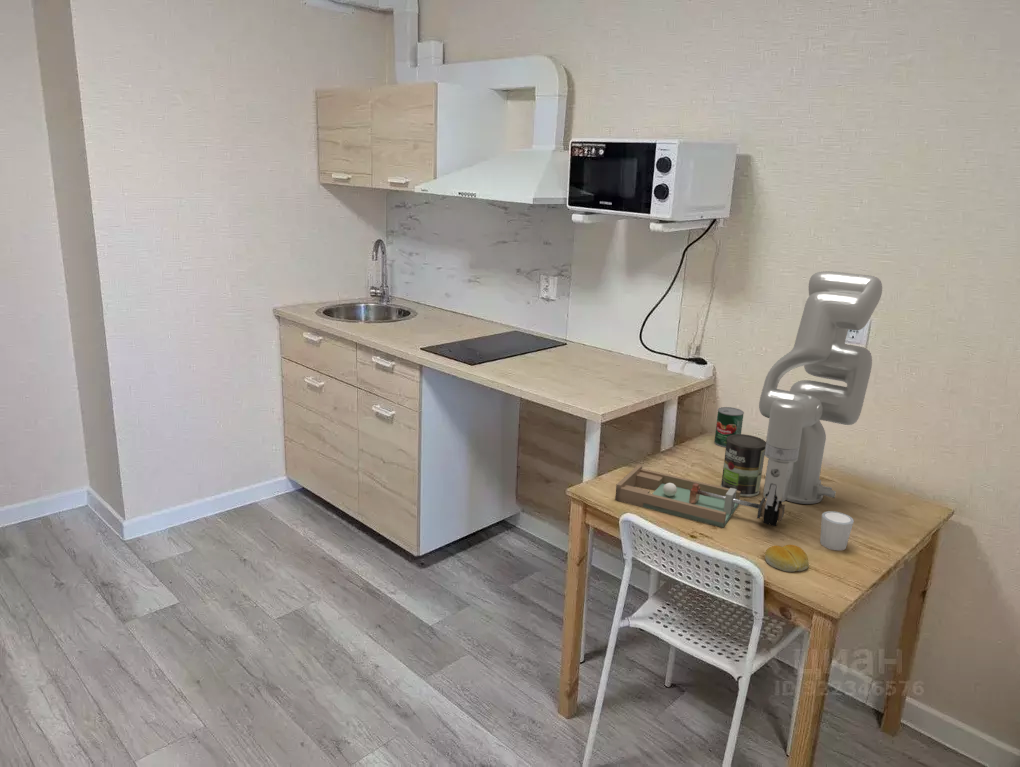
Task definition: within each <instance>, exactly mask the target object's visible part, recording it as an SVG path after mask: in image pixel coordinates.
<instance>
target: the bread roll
mask: <svg viewBox="0 0 1020 767" xmlns="http://www.w3.org/2000/svg"><path fill="white" fill-rule="evenodd" d="M764 555H765V556H764V558H765V562H766V564H768V565H769V566H771V567H772V568H775V569H778V570H781V571H783V572H788V573H789V572H790V573H792V572H802V571H805V570H808V568H809V567H810V564H809V563H810V561H809V557H808V555H807V553H806V551H804V549H803V548H801V547H800V546H798V545H795V544H791V543H790V544H786V545H783V546H780V545H771V546H769V547H768V548H767V549H766V550H765V552H764Z"/></svg>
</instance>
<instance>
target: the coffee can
mask: <svg viewBox="0 0 1020 767" xmlns="http://www.w3.org/2000/svg"><path fill="white" fill-rule="evenodd" d="M726 441H727V444H726V447H725V453H724V461H723V468H722V469H723V470H722V476H721V482H720V487H724V488H729V489H730V488H734V489H737V491H741V493H740V497H743V498H745V497H755V496H758V495H759V494H760V488H761V482H762V475H763V467H764V461H765V455H764V453H765V446H766V440H764V439H763V438H760V437H758V436H756V435H750V434H744V433H743V434H742V433H741V434H734V435H730V436H728V437H727V439H726Z"/></svg>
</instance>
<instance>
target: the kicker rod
mask: <svg viewBox="0 0 1020 767" xmlns="http://www.w3.org/2000/svg"><path fill="white" fill-rule="evenodd" d="M700 495H703V496H707V497H711V498H715V499H720V500H724V501H725V496H722V495H718V494H713V493H709V492H705V491H701V490H700V487H699V484H697V483H694V484H693V487H692V489H691V490H690V498H689V503H693V504H696V502H697V501H698V500H699V496H700ZM766 500H767V497H766V498H765V497H762V499H761V501H760V502H759V503H755V502H751V501H746V500H742V499H740V500H739V499H734V498H733V502H732V503H736V504H739V505H740V506H746V507H748V508H749V507H750V508H754V509H757V517H756V519H761V518H764V511H765V507H766ZM774 503H775V502H774ZM775 504H776V503H775ZM785 507H786V504H783V503H782V504H779V506H778V511H779V514H778V521H777V522H782V520H783V518H784V515H785V509H786V508H785Z"/></svg>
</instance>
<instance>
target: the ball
mask: <svg viewBox="0 0 1020 767" xmlns="http://www.w3.org/2000/svg"><path fill="white" fill-rule="evenodd" d="M663 492H664V494H665V495H667V496H674V495H675V494H676V492H677V488H676V486H675V485H674V484H673V483H667V484H665V485H664V487H663Z"/></svg>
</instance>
